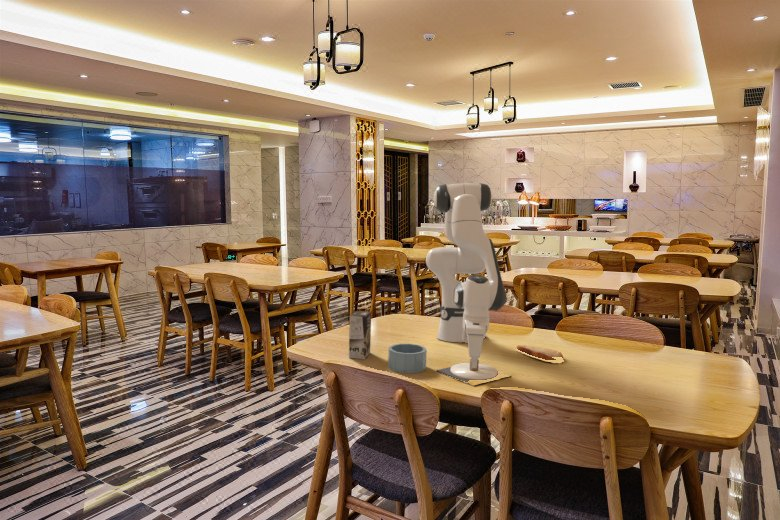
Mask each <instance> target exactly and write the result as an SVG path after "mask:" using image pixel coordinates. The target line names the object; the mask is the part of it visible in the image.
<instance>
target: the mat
mask: <svg viewBox="0 0 780 520" xmlns="http://www.w3.org/2000/svg"><path fill="white" fill-rule="evenodd" d="M451 367H452V366H449V367H445V368H444V367H443V368H439V369H436V372H437V373H439V372H440V374H442V373H443V374H442V375H444V374H445V375H444V376H447V375H448V376H447V377H449V376H451V377H453V378H452V379H454V378H456V379H459V380H462V381H465V382H468V381H469V380H467V379H462V378H459V377H456V376H454V375H453V374H451V372H450V368H451ZM451 377H450V378H451ZM456 379H455V380H456ZM459 380H458V381H459Z"/></svg>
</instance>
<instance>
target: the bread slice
mask: <svg viewBox="0 0 780 520" xmlns="http://www.w3.org/2000/svg"><path fill="white" fill-rule="evenodd" d="M516 348H517V349H518V350H520V351H522V352H525V353H527V354H529V355H532V356H535V357H538V358H542V359H545V360H556V359H554V358H552V357H562V358H564V356H563V354H562V352H560V351H557V350H555V349H551V348H546V347H539V346H531V345H525V344H524V345H522V344H518V345H517V346H516Z"/></svg>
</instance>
